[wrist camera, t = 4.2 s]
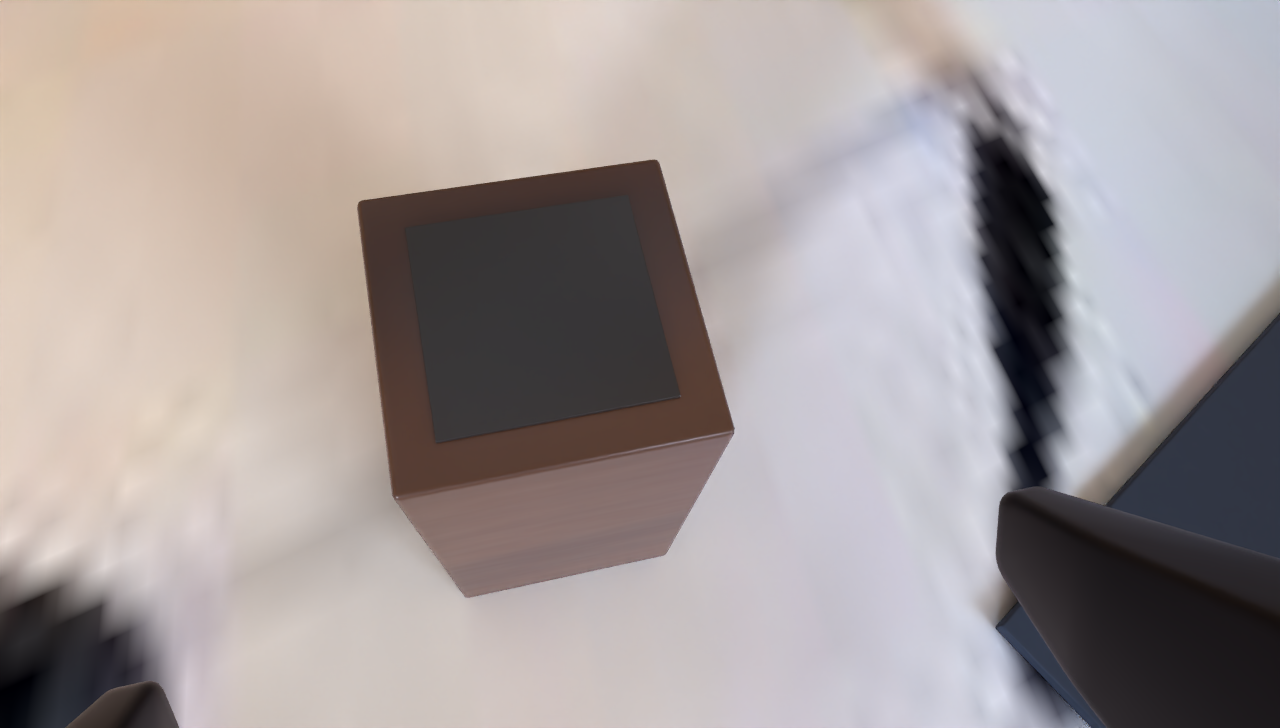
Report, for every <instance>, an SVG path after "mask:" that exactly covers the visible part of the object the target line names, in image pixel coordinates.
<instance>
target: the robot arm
mask: <svg viewBox="0 0 1280 728" xmlns="http://www.w3.org/2000/svg"><path fill="white" fill-rule="evenodd" d="M996 560H997V564H998V568H999V570H1000V572H1001V574H1002V576H1003V578H1004V580H1005V581H1006V583H1007V584H1008V586H1009V587H1010V589H1011V590H1012V592H1013V593H1014V595H1015V597H1016V598H1017V600H1018V601H1019V603H1020V604H1021V606H1022V607H1023V609H1024V610H1025V612H1026V614H1027V615H1028V617H1029V618H1030V620H1031V621H1032V623H1033V624H1034V626H1035V627H1036V629H1037V631H1038V632H1039V634H1040V635H1041V637H1042V638H1043V640H1044V641H1045V643H1046V644H1047V646H1048V648H1049V649H1050V651H1051V652H1052V654H1053V655H1054V657H1055V658H1056V660H1057V662H1058V663H1059V665H1060V666H1061V668H1062V669H1063V671H1064V672H1065V674H1066V675H1067V676H1068V678H1069V679H1070V681H1071V682H1072V684H1073V685H1074V687H1075V688H1076V689H1077V691H1078V692H1079V693H1080V695H1081V696H1082V697H1083V698H1084V700H1085V701H1086V702H1087V704H1088V705H1089V706H1090V708H1091V709H1092V710H1093V711H1094V713H1095V714H1096V715H1097V716H1098V718H1099V719H1100V720H1101V721H1102V723H1103V724H1104V725H1105V727H1106V728H1280V559H1279V558H1276V557H1273V556H1269V555H1266V554H1263V553H1259V552H1256V551H1253V550H1250V549H1246V548H1243V547H1240V546H1236V545H1233V544H1230V543H1226V542H1223V541H1220V540H1216V539H1213V538H1210V537H1206V536H1203V535H1200V534H1196V533H1193V532H1190V531H1186V530H1183V529H1180V528H1176V527H1173V526H1170V525H1166V524H1163V523H1160V522H1156V521H1153V520H1150V519H1147V518H1143V517H1140V516H1137V515H1133V514H1130V513H1127V512H1123V511H1120V510H1117V509H1113V508H1110V507H1107V506H1103V505H1100V504H1097V503H1093V502H1090V501H1087V500H1083V499H1080V498H1077V497H1073V496H1070V495H1067V494H1063V493H1060V492H1057V491H1054V490H1050V489H1047V488H1043V487H1030V488H1026V489H1021V490H1017V491H1012V492H1008V493H1006V494H1005V495H1004V496H1003V497H1002V499H1001V501H1000V505H999V515H998V528H997V542H996ZM66 728H179V726H178V723H177V721H176V719H175V716H174V714H173V711H172V709H171V707H170V704H169V702H168V699H167V697H166V694H165V692H164V690H163V689H162V687H161V686H160V685H159V684H158V683H156V682H153V681H146V682H141V683H137V684H132V685H127V686H123V687H118V688H115V689H112V690H109V691H107V692H106V693H105V694H104V695H102V696H101V697H100V698H99V699H98V700H97V701H95V702H94V703H93V704H92V705H91V706H90V707H89V708H87V709H86V710H85V711H84V712H83V713H82V714H81V715H79V716H78V717H77V718H76V719H75V720H74V721H73V722H71V723H70V724H69V725H68V726H67V727H66Z"/></svg>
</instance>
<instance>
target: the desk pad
mask: <svg viewBox="0 0 1280 728" xmlns="http://www.w3.org/2000/svg"><path fill="white" fill-rule="evenodd" d="M1106 506H1107V507H1110V508H1113V509H1117V510H1120V511H1123V512H1127V513H1130V514H1133V515H1137V516H1140V517H1143V518H1147V519H1150V520H1153V521H1156V522H1160V523H1163V524H1166V525H1170V526H1173V527H1176V528H1180V529H1183V530H1186V531H1190V532H1193V533H1196V534H1200V535H1203V536H1206V537H1210V538H1213V539H1216V540H1220V541H1223V542H1226V543H1230V544H1233V545H1236V546H1240V547H1243V548H1246V549H1250V550H1253V551H1256V552H1259V553H1263V554H1266V555H1269V556H1273V557H1276V558H1279V559H1280V314H1279V315H1278V316H1277V317H1276V318H1275V319H1274V320H1273V321H1272V323H1271V324H1270V325H1269V326H1268V327H1267V328H1266V329H1265V330H1264V331H1263V332H1262V334H1261V335H1260V336H1259V337H1258V338H1257V339H1256V340H1255V341H1254V342H1253V344H1252V345H1251V346H1250V347H1249V348H1248V349H1247V350H1246V351H1245V352H1244V353H1243V355H1242V356H1241V357H1240V358H1239V359H1238V360H1237V361H1236V362H1235V363H1234V364H1233V366H1232V367H1231V368H1230V369H1229V370H1228V371H1227V372H1226V373H1225V374H1224V375H1223V377H1222V378H1221V379H1220V380H1219V381H1218V382H1217V383H1216V384H1215V385H1214V386H1213V388H1212V389H1211V390H1210V391H1209V392H1208V393H1207V394H1206V395H1205V396H1204V398H1203V399H1202V400H1201V401H1200V402H1199V403H1198V404H1197V405H1196V406H1195V407H1194V409H1193V410H1192V411H1191V412H1190V413H1189V414H1188V415H1187V416H1186V417H1185V418H1184V420H1183V421H1182V422H1181V423H1180V424H1179V425H1178V426H1177V427H1176V428H1175V429H1174V431H1173V432H1172V433H1171V434H1170V435H1169V436H1168V437H1167V438H1166V439H1165V440H1164V442H1163V443H1162V444H1161V445H1160V446H1159V447H1158V448H1157V449H1156V450H1155V452H1154V453H1153V454H1152V455H1151V456H1150V457H1149V458H1148V459H1147V460H1146V461H1145V463H1144V464H1143V465H1142V466H1141V467H1140V468H1139V469H1138V470H1137V471H1136V472H1135V474H1134V475H1133V476H1132V477H1131V478H1130V479H1129V480H1128V481H1127V482H1126V483H1125V485H1124V486H1123V487H1122V488H1121V489H1120V490H1119V491H1118V492H1117V493H1116V494H1115V496H1114V497H1113V498H1112V499H1111V500H1110V501H1109V502H1108V503H1107V504H1106ZM996 629H997V630H998V631H999V632H1000V633H1001V634H1002V635H1003V636H1004V637H1005V638H1006V639H1007V640H1008V641H1009V642H1010V643H1011V644H1012V645H1013V646H1014V648H1015V649H1016V650H1017V651H1018V652H1019V653H1020V654H1021V655H1022V656H1023V657H1024V658H1025V659H1026V660H1027V661H1028V662H1029V663H1030V664H1031V665H1032V666H1033V667H1034V668H1035V669H1036V670H1037V671H1038V672H1039V673H1040V674H1041V675H1042V676H1043V677H1044V679H1045V680H1046V681H1047V682H1048V683H1049V684H1050V685H1051V686H1052V687H1053V688H1054V689H1055V690H1056V691H1057V692H1058V693H1059V694H1060V695H1061V696H1062V697H1063V698H1064V699H1065V700H1066V701H1067V702H1068V703H1069V704H1070V705H1071V706H1072V707H1073V708H1074V709H1075V711H1076V712H1077V713H1078V714H1079V715H1080V716H1081V717H1082V718H1083V719H1084V720H1085V721H1086V722H1087V723H1088V724H1089V725H1090V726H1091V727H1092V728H1106V727H1105V725H1104V724H1103V723H1102V721H1101V720H1100V719H1099V718H1098V716H1097V715H1096V714H1095V713H1094V711H1093V710H1092V709H1091V708H1090V706H1089V705H1088V704H1087V702H1086V701H1085V700H1084V698H1083V697H1082V696H1081V695H1080V693H1079V692H1078V691H1077V689H1076V688H1075V687H1074V685H1073V684H1072V682H1071V681H1070V679H1069V678H1068V676H1067V675H1066V674H1065V672H1064V671H1063V669H1062V668H1061V666H1060V665H1059V663H1058V662H1057V660H1056V658H1055V657H1054V655H1053V654H1052V652H1051V651H1050V649H1049V648H1048V646H1047V644H1046V643H1045V641H1044V640H1043V638H1042V637H1041V635H1040V634H1039V632H1038V631H1037V629H1036V627H1035V626H1034V624H1033V623H1032V621H1031V620H1030V618H1029V617H1028V615H1027V614H1026V612H1025V610H1024V609H1023V607H1022V606H1021V604H1020V603H1019V601H1018V602H1017V604H1016V605H1015V606H1014V607H1013V608H1012V609H1011V610H1010V611H1009V612H1008V614H1007V615H1006V616H1005V617H1004V618H1003V619H1002V620H1001V621H1000V622H999V623H998V625H997V626H996Z"/></svg>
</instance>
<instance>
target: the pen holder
mask: <svg viewBox="0 0 1280 728" xmlns="http://www.w3.org/2000/svg"><path fill="white" fill-rule="evenodd" d="M357 210H358V218H359V226H360V234H361V243H362V251H363V259H364V267H365V275H366V284H367V292H368V300H369V308H370V316H371V325H372V333H373V341H374V349H375V357H376V366H377V374H378V382H379V390H380V398H381V407H382V415H383V423H384V431H385V439H386V448H387V456H388V464H389V472H390V480H391V489H392V496H393V497H394V499H395V501H396V502H397V503H398V505H399V506H400V508H401V509H402V510H403V512H404V513H405V514H406V516H407V517H408V519H409V520H410V521H411V523H412V524H413V525H414V527H415V528H416V530H417V531H418V532H419V534H420V535H421V537H422V538H423V539H424V541H425V542H426V543H427V545H428V546H429V548H430V549H431V550H432V552H433V553H434V555H435V556H436V557H437V559H438V560H439V561H440V563H441V564H442V566H443V567H444V568H445V570H446V571H447V572H448V574H449V575H450V577H451V578H452V579H453V581H454V582H455V584H456V585H457V586H458V588H459V589H460V590H461V592H462V593H463V595H464V596H465V597H467V598H469V597H474V596H479V595H483V594H488V593H492V592H497V591H502V590H506V589H511V588H515V587H520V586H525V585H529V584H534V583H538V582H543V581H548V580H552V579H557V578H562V577H566V576H571V575H575V574H580V573H585V572H589V571H594V570H598V569H603V568H608V567H612V566H617V565H621V564H626V563H631V562H635V561H640V560H645V559H649V558H654V557H658V556H663V555H665V554H666V553H667V551H668V549H669V548H670V546H671V544H672V542H673V540H674V539H675V537H676V535H677V533H678V532H679V530H680V528H681V526H682V525H683V523H684V521H685V519H686V517H687V516H688V514H689V512H690V510H691V509H692V507H693V505H694V503H695V502H696V500H697V498H698V496H699V494H700V493H701V491H702V489H703V487H704V486H705V484H706V482H707V480H708V478H709V477H710V475H711V473H712V471H713V470H714V468H715V466H716V464H717V463H718V461H719V459H720V457H721V455H722V454H723V452H724V450H725V448H726V447H727V445H728V443H729V441H730V440H731V438H732V436H733V434H734V425H733V422H732V418H731V415H730V411H729V408H728V404H727V400H726V397H725V393H724V390H723V386H722V383H721V379H720V376H719V372H718V369H717V365H716V361H715V358H714V354H713V351H712V347H711V344H710V340H709V337H708V333H707V330H706V326H705V323H704V319H703V315H702V312H701V308H700V305H699V301H698V298H697V294H696V291H695V287H694V284H693V280H692V277H691V273H690V269H689V266H688V262H687V259H686V255H685V252H684V248H683V245H682V241H681V238H680V234H679V230H678V227H677V223H676V220H675V216H674V213H673V209H672V206H671V202H670V199H669V195H668V192H667V188H666V184H665V181H664V177H663V174H662V170H661V167H660V164H659V162H658V161H657V160H647V161H640V162H633V163H626V164H618V165H611V166H604V167H597V168H590V169H583V170H576V171H569V172H562V173H554V174H547V175H540V176H533V177H526V178H519V179H512V180H505V181H498V182H490V183H483V184H476V185H469V186H462V187H455V188H448V189H441V190H434V191H426V192H419V193H412V194H405V195H398V196H391V197H384V198H377V199H370V200H362V201H360V202H359V203H358V207H357Z"/></svg>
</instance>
